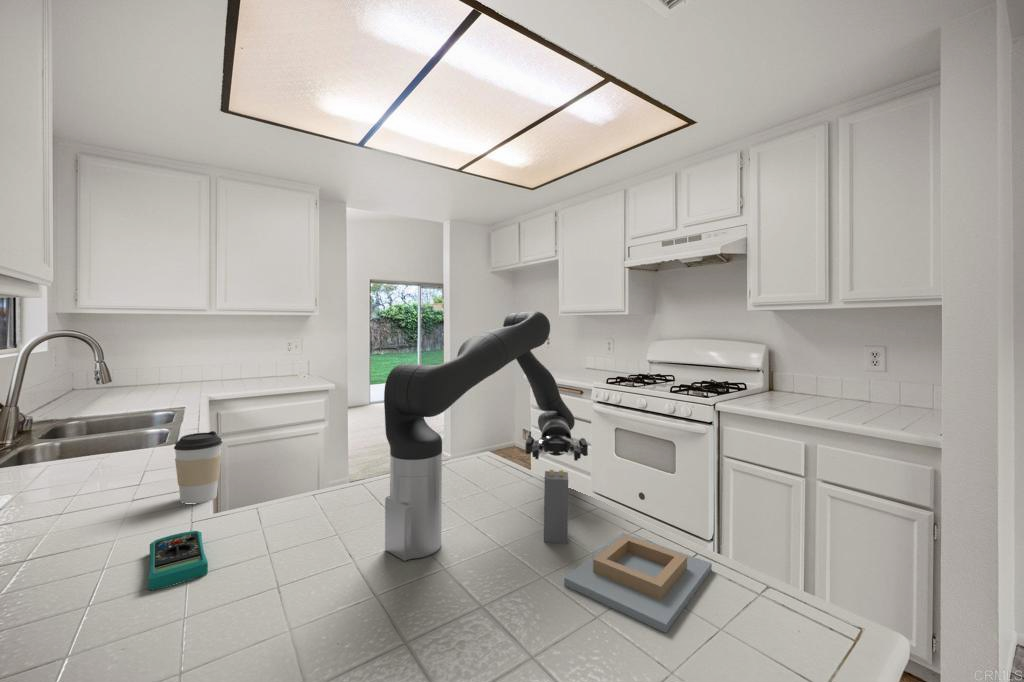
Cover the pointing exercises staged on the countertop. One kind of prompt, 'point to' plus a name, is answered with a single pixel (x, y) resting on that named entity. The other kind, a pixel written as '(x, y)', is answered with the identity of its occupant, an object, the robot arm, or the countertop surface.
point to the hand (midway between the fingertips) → (556, 455)
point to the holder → (640, 580)
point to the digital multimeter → (176, 559)
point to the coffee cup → (198, 466)
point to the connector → (556, 507)
